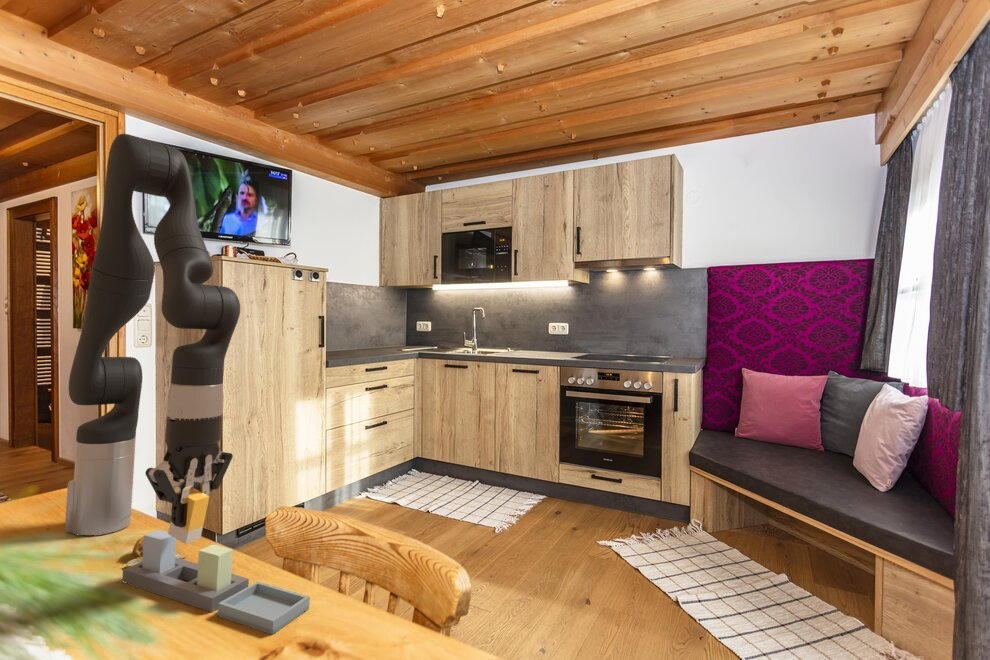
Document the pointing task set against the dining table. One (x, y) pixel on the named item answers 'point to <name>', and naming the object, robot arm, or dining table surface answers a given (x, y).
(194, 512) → the block
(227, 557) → the block
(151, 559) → the block
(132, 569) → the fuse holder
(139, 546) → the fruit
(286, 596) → the tray
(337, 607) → the dining table surface
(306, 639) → the dining table surface
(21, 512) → the dining table surface
